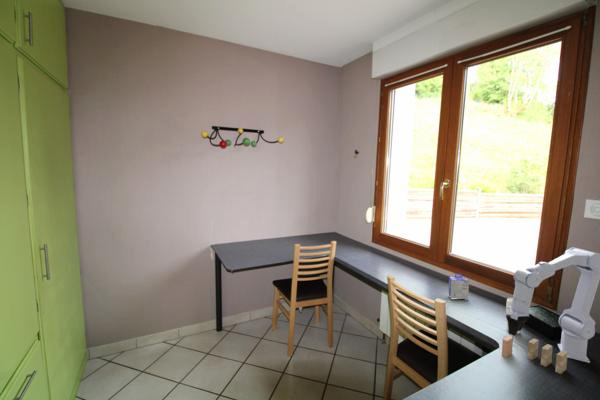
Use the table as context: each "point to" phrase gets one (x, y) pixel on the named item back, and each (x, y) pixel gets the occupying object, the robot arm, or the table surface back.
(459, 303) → the table surface
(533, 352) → the domino
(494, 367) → the table surface
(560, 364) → the domino
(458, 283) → the ink cartridge box
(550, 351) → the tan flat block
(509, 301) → the drinking glass
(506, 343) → the salmon orange block
